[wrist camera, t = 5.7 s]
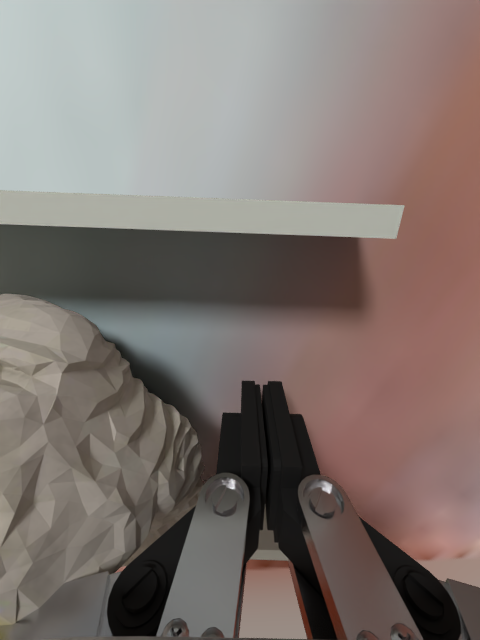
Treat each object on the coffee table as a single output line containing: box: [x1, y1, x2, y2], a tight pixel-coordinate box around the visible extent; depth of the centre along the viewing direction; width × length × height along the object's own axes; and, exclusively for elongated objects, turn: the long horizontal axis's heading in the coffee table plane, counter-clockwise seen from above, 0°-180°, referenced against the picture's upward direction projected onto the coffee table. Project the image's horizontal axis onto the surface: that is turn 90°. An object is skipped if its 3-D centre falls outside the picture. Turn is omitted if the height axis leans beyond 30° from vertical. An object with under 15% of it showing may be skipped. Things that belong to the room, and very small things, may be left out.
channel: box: [0, 190, 404, 561], centre depth 10 cm, size 23×16×5 cm
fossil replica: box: [0, 294, 205, 625], centre depth 8 cm, size 12×8×10 cm
